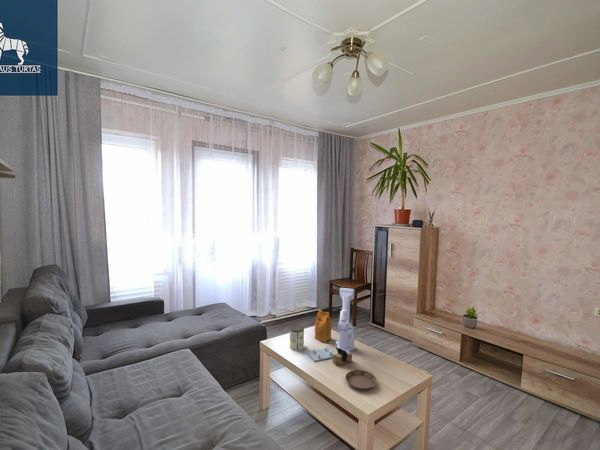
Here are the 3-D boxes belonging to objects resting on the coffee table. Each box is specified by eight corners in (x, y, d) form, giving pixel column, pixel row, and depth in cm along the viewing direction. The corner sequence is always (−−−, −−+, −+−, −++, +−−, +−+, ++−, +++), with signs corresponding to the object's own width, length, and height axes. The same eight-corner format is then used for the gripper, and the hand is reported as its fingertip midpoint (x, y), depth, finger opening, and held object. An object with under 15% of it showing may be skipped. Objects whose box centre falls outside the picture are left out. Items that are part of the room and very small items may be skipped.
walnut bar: (348, 358, 188) (348, 351, 187) (351, 361, 184) (352, 354, 184) (332, 362, 183) (333, 354, 183) (336, 365, 179) (336, 357, 179)
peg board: (329, 348, 201) (329, 344, 201) (338, 356, 190) (338, 351, 190) (306, 353, 194) (306, 348, 194) (314, 362, 183) (314, 356, 183)
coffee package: (321, 334, 225) (322, 307, 224) (332, 339, 216) (333, 311, 215) (312, 337, 219) (313, 309, 218) (323, 343, 209) (324, 314, 208)
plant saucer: (339, 383, 161) (339, 378, 161) (355, 371, 174) (355, 366, 174) (367, 397, 149) (367, 392, 149) (382, 383, 162) (382, 377, 162)
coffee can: (293, 342, 210) (293, 324, 209) (305, 345, 205) (306, 326, 205) (287, 348, 200) (287, 329, 200) (300, 351, 196) (300, 332, 195)
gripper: (332, 335, 188) (331, 355, 188) (343, 345, 174) (343, 366, 175) (341, 334, 191) (340, 353, 191) (353, 343, 177) (352, 364, 178)
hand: (342, 359), depth 183 cm, fingers closed on walnut bar, 4 cm apart
